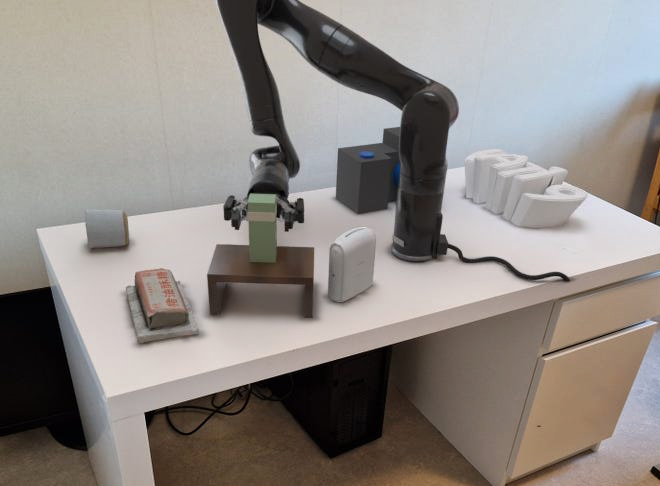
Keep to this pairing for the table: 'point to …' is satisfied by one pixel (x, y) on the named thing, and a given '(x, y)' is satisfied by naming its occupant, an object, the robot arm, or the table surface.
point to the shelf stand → (260, 272)
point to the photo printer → (351, 263)
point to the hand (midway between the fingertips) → (261, 225)
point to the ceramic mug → (106, 228)
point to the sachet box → (262, 227)
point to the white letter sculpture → (520, 189)
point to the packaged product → (159, 306)
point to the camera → (369, 174)
